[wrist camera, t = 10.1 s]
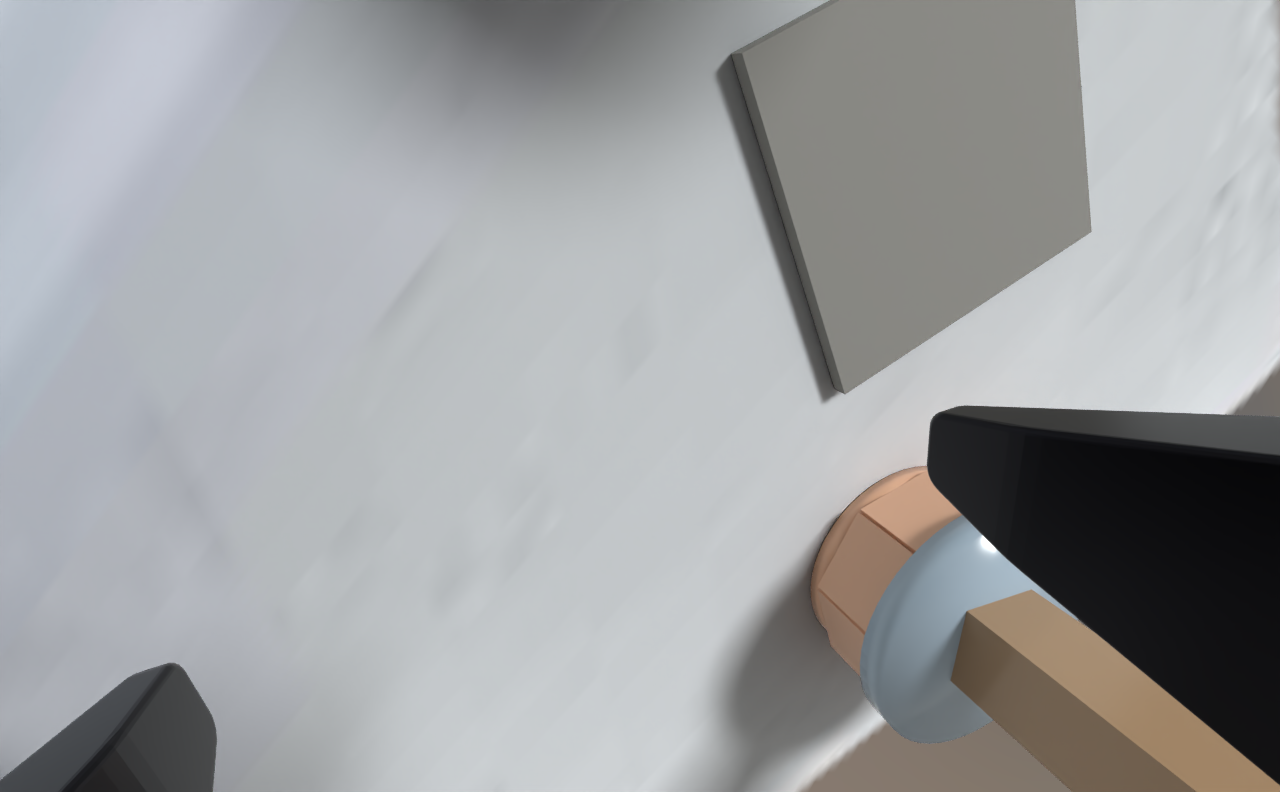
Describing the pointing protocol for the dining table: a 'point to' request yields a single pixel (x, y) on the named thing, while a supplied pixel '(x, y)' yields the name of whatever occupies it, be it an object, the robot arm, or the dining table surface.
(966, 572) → the tan post on disc
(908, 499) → the bowl
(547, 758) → the dining table surface
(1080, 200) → the mat
